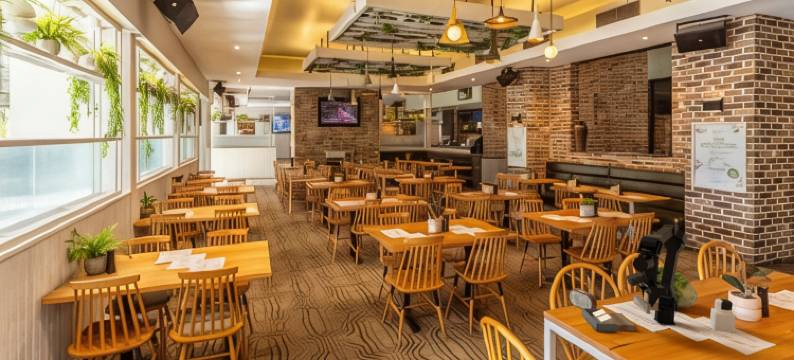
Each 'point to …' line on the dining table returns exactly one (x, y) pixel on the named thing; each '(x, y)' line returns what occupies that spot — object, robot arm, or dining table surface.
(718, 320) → the medicine bottle
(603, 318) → the tile
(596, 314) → the tile
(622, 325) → the board
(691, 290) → the lettuce
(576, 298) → the tin
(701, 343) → the dining table surface
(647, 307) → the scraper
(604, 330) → the tray
